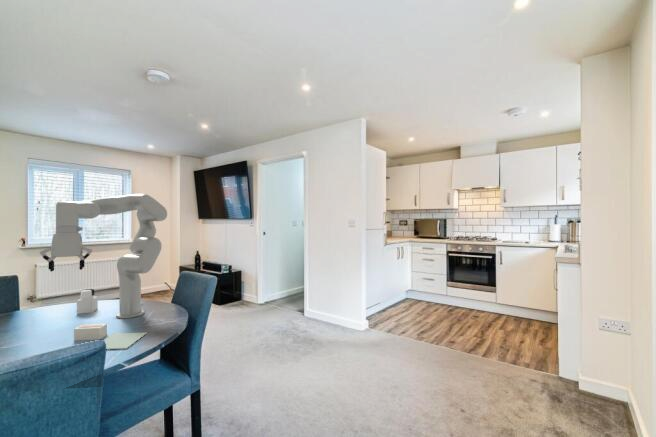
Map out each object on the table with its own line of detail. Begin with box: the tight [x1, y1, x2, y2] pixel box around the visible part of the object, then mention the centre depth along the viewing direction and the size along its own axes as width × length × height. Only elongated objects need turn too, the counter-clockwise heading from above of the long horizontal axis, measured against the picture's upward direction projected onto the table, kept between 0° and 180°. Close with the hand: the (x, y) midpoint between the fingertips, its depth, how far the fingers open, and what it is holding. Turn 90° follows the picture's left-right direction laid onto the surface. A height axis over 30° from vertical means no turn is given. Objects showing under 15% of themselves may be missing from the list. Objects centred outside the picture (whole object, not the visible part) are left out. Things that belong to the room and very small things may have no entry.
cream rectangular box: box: [73, 323, 108, 341], centre depth 133 cm, size 5×10×5 cm, turn 96°
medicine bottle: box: [76, 288, 99, 315], centre depth 171 cm, size 7×7×12 cm
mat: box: [103, 332, 148, 351], centre depth 129 cm, size 16×14×1 cm
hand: (66, 270), depth 134 cm, fingers open, 9 cm apart
